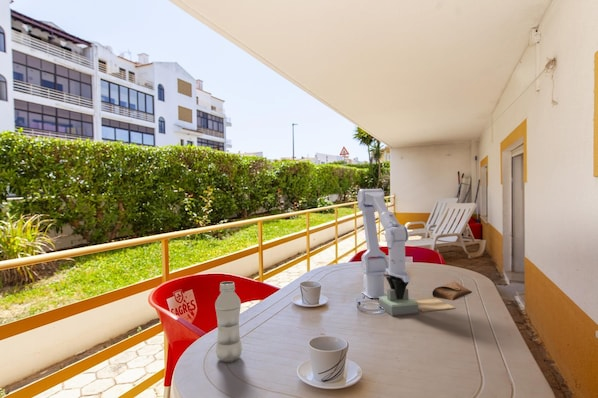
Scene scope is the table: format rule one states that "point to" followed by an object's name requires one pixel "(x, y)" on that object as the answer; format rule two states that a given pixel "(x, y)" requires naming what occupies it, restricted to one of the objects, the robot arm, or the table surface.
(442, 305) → the cork mat
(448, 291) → the sunglasses case
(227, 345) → the plastic bottle
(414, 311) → the storage box
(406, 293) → the lid
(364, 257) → the robot arm
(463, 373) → the table surface
